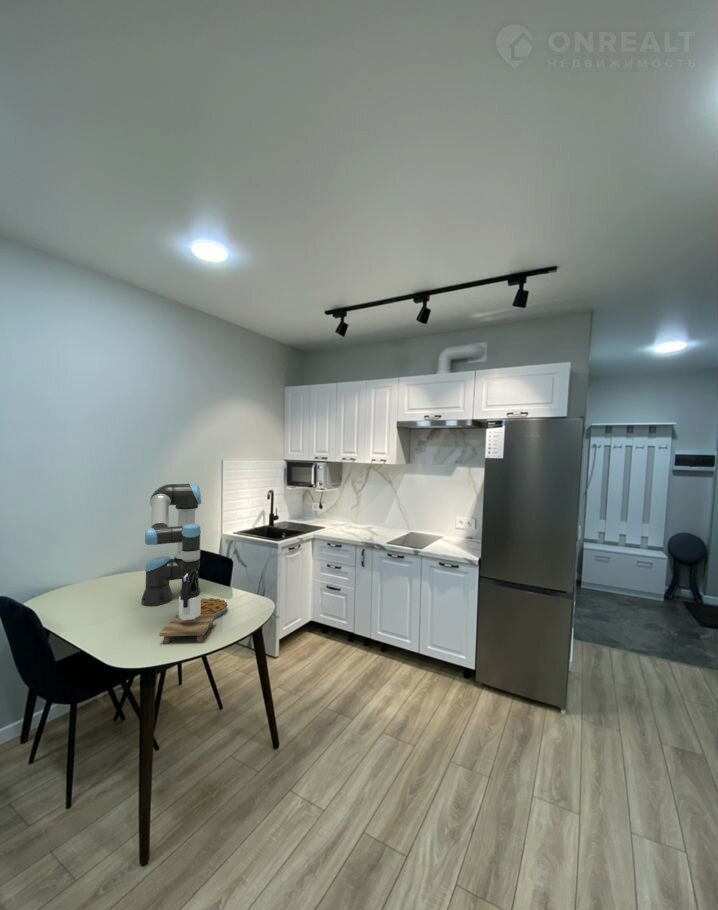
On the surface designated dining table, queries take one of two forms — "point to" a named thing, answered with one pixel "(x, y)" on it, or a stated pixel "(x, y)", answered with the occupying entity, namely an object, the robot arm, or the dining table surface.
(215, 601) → the pie
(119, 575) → the dining table surface
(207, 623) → the wooden serving stand
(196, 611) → the jar
